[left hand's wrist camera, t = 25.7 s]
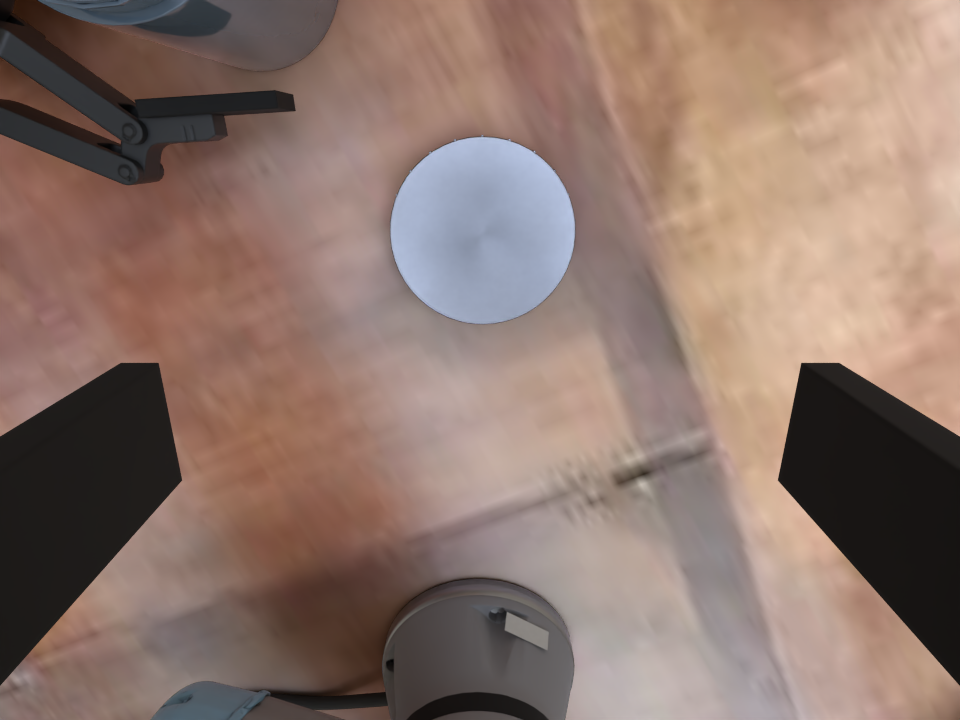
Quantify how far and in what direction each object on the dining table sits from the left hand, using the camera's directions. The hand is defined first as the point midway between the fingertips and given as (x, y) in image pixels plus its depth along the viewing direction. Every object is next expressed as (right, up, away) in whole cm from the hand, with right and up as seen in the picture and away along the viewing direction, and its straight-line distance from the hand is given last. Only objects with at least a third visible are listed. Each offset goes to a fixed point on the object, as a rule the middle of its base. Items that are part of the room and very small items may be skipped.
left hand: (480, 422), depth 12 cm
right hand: (-10, +20, +14) cm, 26 cm away
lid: (0, +9, +23) cm, 24 cm away
